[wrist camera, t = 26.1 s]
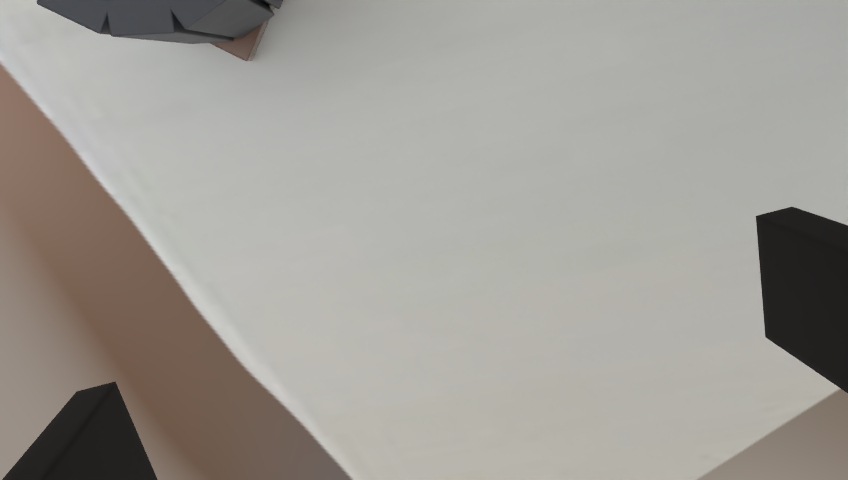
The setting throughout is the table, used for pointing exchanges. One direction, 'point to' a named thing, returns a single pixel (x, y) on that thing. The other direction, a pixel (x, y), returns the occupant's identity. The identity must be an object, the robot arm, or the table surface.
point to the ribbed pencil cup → (167, 18)
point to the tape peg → (245, 43)
